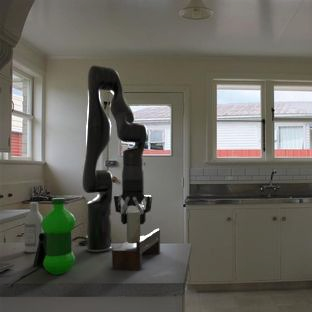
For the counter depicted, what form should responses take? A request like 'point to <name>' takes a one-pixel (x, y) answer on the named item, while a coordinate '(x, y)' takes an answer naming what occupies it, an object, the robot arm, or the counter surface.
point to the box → (133, 226)
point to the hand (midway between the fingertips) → (133, 223)
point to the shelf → (135, 252)
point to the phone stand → (40, 251)
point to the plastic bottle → (58, 238)
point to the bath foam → (33, 228)
